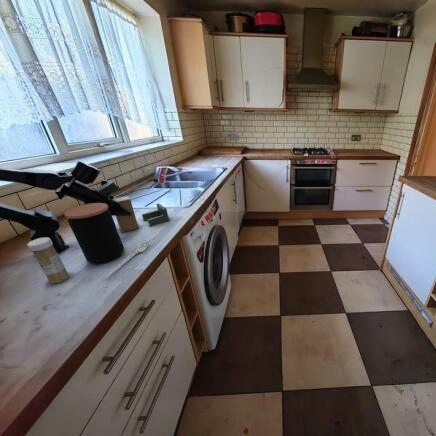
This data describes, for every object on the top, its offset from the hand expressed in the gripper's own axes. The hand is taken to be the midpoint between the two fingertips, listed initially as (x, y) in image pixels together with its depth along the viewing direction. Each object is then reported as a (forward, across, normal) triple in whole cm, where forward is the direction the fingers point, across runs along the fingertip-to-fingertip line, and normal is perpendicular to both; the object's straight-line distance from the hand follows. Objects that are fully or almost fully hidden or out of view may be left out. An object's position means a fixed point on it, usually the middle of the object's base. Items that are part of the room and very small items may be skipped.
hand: (128, 212), depth 95 cm
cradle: (+11, 0, -1) cm, 11 cm away
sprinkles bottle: (-13, -22, +23) cm, 34 cm away
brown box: (+4, 0, +6) cm, 7 cm away
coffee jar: (-4, -18, +14) cm, 23 cm away
